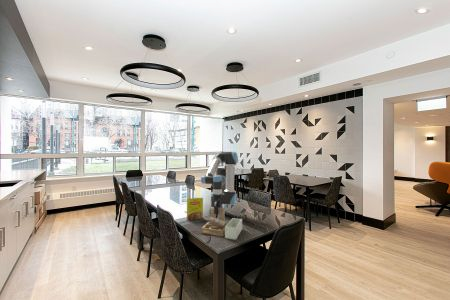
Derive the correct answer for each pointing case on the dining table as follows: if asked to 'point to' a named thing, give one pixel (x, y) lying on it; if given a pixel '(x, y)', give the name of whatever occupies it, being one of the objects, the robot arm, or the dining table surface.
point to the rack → (206, 229)
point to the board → (221, 216)
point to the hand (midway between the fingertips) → (217, 221)
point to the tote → (233, 228)
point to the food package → (194, 208)
